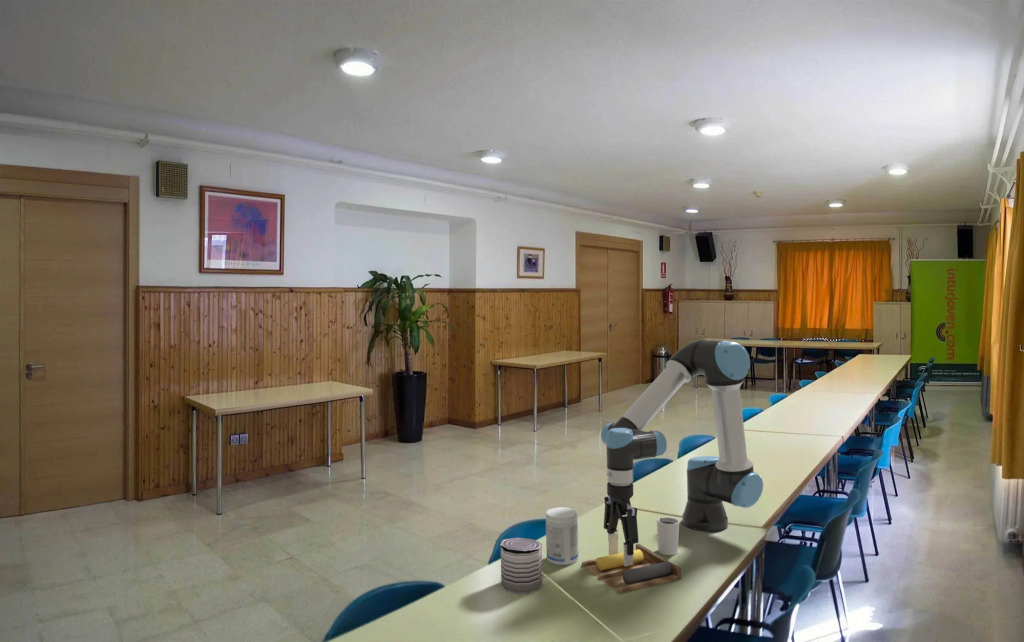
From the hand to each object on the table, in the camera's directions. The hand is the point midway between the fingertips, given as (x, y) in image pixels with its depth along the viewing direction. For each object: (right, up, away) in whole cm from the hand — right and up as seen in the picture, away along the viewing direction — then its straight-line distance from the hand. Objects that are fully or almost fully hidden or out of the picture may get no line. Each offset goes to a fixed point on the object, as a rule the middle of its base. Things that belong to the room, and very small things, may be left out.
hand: (620, 560), depth 189 cm
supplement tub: (-17, -2, +6) cm, 18 cm away
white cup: (+16, -2, +10) cm, 19 cm away
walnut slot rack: (+2, -2, -4) cm, 5 cm away
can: (-29, -3, -11) cm, 31 cm away
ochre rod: (0, -1, -1) cm, 2 cm away
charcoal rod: (+6, -2, -9) cm, 11 cm away
